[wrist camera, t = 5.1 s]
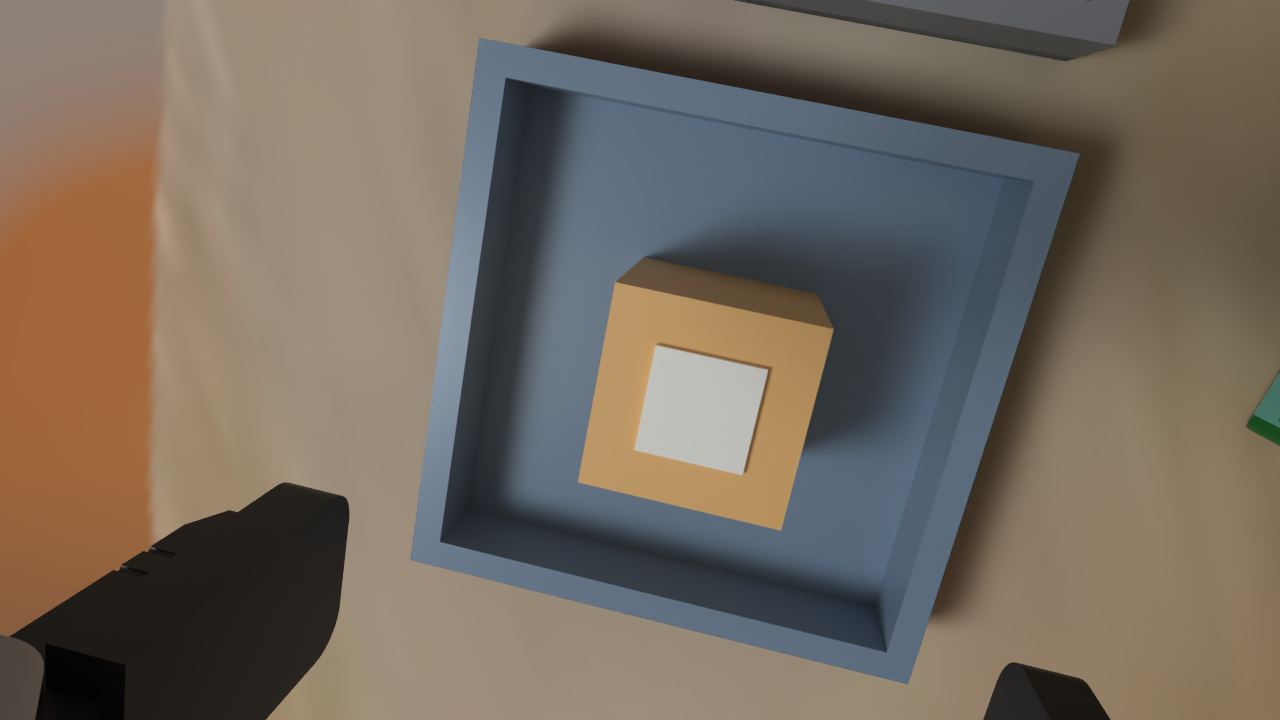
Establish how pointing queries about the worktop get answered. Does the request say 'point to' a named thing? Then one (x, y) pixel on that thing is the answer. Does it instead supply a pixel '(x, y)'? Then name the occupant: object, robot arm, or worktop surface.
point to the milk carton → (1268, 414)
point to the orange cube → (705, 391)
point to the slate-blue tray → (747, 248)
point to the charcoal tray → (985, 21)
